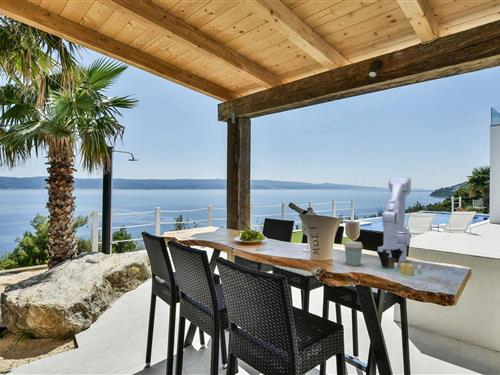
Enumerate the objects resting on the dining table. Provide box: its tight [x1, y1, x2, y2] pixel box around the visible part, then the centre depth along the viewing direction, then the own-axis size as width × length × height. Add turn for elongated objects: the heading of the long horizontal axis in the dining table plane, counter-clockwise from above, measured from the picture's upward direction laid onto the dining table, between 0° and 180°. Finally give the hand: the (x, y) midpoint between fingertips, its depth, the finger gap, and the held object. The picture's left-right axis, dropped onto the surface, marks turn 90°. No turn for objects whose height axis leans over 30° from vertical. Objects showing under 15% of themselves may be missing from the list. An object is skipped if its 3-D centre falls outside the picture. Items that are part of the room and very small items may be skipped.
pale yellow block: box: [399, 262, 415, 276], centre depth 130 cm, size 6×5×4 cm
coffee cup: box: [343, 240, 364, 267], centre depth 146 cm, size 8×8×12 cm
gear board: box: [368, 262, 437, 281], centre depth 135 cm, size 22×16×5 cm
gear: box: [387, 257, 396, 268], centre depth 142 cm, size 6×5×4 cm
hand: (389, 266), depth 142 cm, fingers open, 7 cm apart
